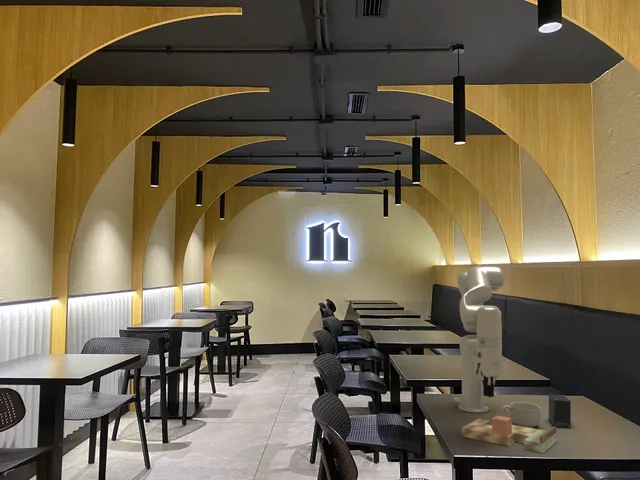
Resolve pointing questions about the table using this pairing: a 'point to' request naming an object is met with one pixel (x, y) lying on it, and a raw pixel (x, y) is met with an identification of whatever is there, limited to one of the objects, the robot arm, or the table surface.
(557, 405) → the small box
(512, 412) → the teacup
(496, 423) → the block
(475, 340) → the robot arm
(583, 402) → the table surface
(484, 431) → the board
